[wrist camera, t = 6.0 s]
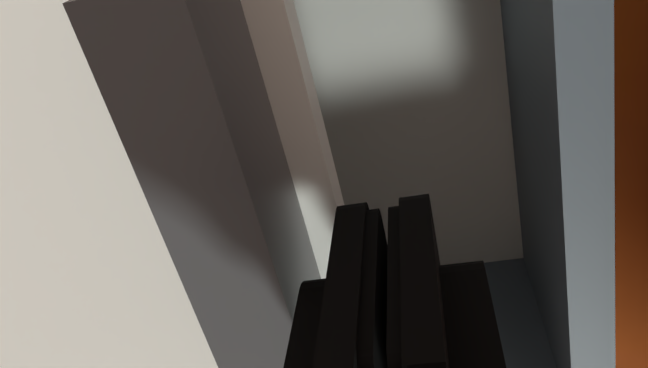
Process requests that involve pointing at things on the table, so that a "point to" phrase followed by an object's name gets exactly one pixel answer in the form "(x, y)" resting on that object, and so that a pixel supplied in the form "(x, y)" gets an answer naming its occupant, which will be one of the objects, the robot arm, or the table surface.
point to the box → (486, 148)
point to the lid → (157, 183)
